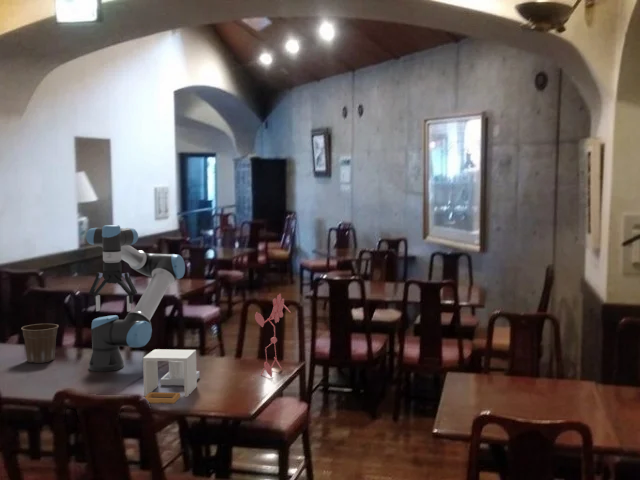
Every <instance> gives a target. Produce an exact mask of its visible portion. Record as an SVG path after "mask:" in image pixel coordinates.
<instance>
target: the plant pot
mask: <svg viewBox="0 0 640 480" xmlns="http://www.w3.org/2000/svg"><path fill="white" fill-rule="evenodd" d="M59 327H60V326H59V324H55V323H35V324H29V325H24V326H22V327H21V329H20V330H22V337H23V339H24V345H25V347H24V348H25V354H26V355H25V356H26V361H27V362H28V363H31V364H32V363H35V364H44V363H49V362H51V361H54V360H55V359H56V358H55V357H56V356H55V355H56V344H57V342H56V341H57V340H56V339H57V334H58V328H59Z"/></svg>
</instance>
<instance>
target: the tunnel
mask: <svg viewBox="0 0 640 480" xmlns="http://www.w3.org/2000/svg"><path fill="white" fill-rule="evenodd" d="M169 361H184V385H183V387H184V389H183V390H184V397H185V398H186V397H189V396H190V395H191V393H192V392H193V391H194V390H195V389H196V388H197V387H198V382H197V381H198V379H197V371H198V370H197V349H167V348H166V349H160V348H157V349H156V348H155V349H153V350H152V351H150V352H149V353H147V354H145V356H144V357H142V366H143V396H144V397H145V396H146V395H147V394H149V393H150V392H153V391H154V390H155V389H156V388H157V387H159V369H158V367H159V365H158V364H159V363H158V362H169ZM189 394H190V395H189Z"/></svg>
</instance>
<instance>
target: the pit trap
mask: <svg viewBox="0 0 640 480" xmlns="http://www.w3.org/2000/svg"><path fill="white" fill-rule="evenodd" d="M144 397H145V398H146V399H147V400H148V401H149V402H150V403H149V404H161V403H165V405H166V404H170V405H171V404H172V405H174V404H176V403H177V402H178V400H179V399H180V398H181V392H161V391H160V392H153V391H152V392H150V393H149V394H147V395H146V396H144Z"/></svg>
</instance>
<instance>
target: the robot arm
mask: <svg viewBox="0 0 640 480" xmlns="http://www.w3.org/2000/svg"><path fill="white" fill-rule="evenodd" d="M85 239H86V241H87V243H88V244H89V245H93V246H99V247H101V248H102V261H103V263H102V272H103V273H102V272H100V271H99V272H97V273H95V279H94V280H93V283H92V285H91V288H90V289H89V292H88V293H89V295H92V296H93V303H94V304H95V312H99V311H101V295H99V294H100V292H102V290H103V289H104V288H105V287H106V286H107V284H118V285H119V286H120V287H121V288H122V290H123V291H124V292H125V293H126V295H127V296H126V312H128V313H127V314H126V316H125V318H124V319H119V318H120V317H119V316H118V315H116V314H115V315H107V316H99V317H97V318H94V319H93V320H91V321H92V322H91V343H92V344H91V345H92V346H91V347H92V353H91V356H90V358H89V362H88V370H90V371H92V372H112V371H116V370H120V369H122V368H124V365H125V364H124V358H123V356H122V353H121V351H120V347H128V348H129V347H130V348H143V347H145V346H146V345H147V344H148V343H149V341H150V340H151V337H152V333H153V329H152V322H151V319H152V317H153V316H154V314H155V312H156V310H157V309H158V306H159V305H160V303H161V301H162V299H163V297H164V295H165V294H166V291H167V290H168V288H169V286H172V285H174V283H175V282H176V280H177V279H178V280H179V279H182V278H183V277H184V275H185V273H186V264H185V261H184V257H183V256H181V255H180V254H175V253H150V252H149V253H148V252H145V251H144V250H137V248H134V247H133V246H132V245H134V244H136V243H137V242H138V240H139V233H138V232H137V230H136V229H134V228H133V227H125V228H124V227H123V228H121V226H120V225H118V224H107V225H106V224H105V225H103V226H102V227H93V228H92V227H91V228H89V229H88V230H87V232H86V235H85ZM121 261H124V262H125V263H127V264H128V265H129V267H130V268H131V269H133V270H134V271H136V272H138V273H140V274H142V275H144V276H146V277H149V278H151V279H150V281H149V283H148V285H147V286H146V288H145V290H144V291H143V293H142V295H141V297H140V299H139V300H138V302H137V304H136V306H135V307H134V309H133V311H132V304H133V303H134V296H135V295H137V293H138V291H137V289H136V287H135V285H134V283H133V281H132V280H131V278H130V277H131V276H130V273H129V272H125V273H123V272H122V269H123V268H122V262H121ZM122 277H123V279H125V281H126V283H127V285H128V286H127V285H126V283H125V282H124V280H123V279H122ZM102 278H103V279H104V280H102V282H101V284H100V285H99V282H100V280H101V279H102ZM98 285H99V286H98ZM97 287H98V288H97Z"/></svg>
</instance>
